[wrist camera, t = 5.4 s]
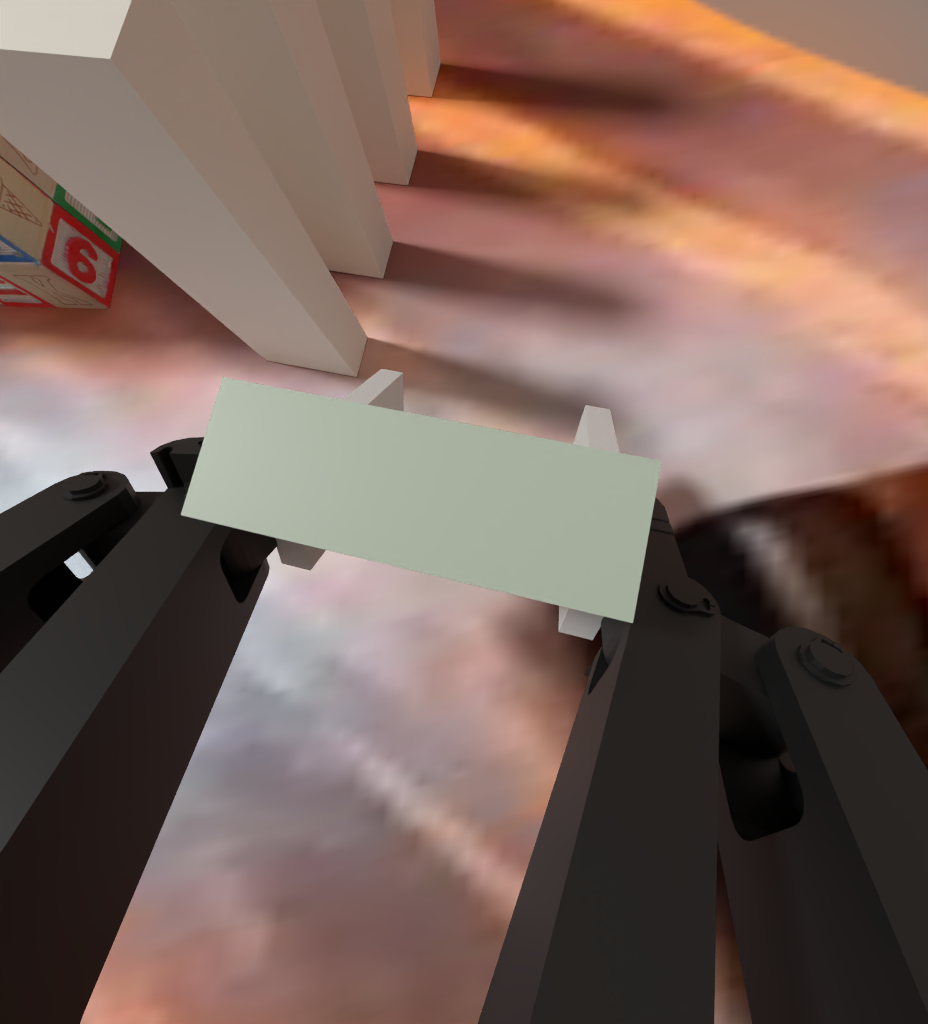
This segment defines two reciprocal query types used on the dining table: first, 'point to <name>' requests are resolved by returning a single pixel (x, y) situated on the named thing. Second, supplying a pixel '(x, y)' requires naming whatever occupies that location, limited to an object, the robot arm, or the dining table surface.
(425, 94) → the domino
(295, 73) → the domino
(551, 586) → the sage domino
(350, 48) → the domino
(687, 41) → the dining table surface
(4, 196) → the stack of blocks
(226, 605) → the robot arm
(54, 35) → the domino
